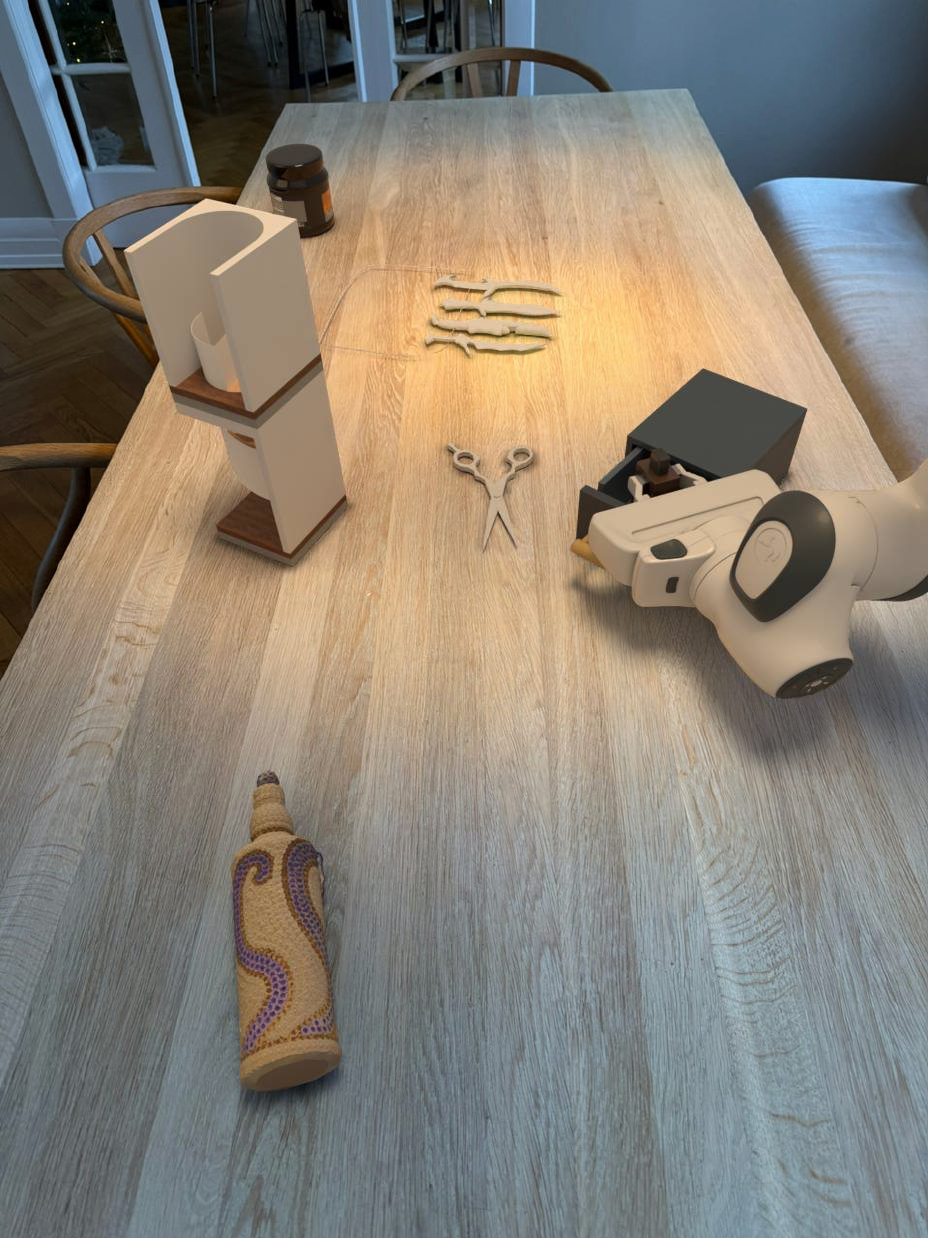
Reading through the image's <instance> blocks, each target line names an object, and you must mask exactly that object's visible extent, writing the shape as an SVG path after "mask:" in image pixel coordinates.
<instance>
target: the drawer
mask: <svg viewBox="0 0 928 1238" xmlns="http://www.w3.org/2000/svg"><path fill="white" fill-rule="evenodd" d="M650 457H651V451H649V450H646V449H644V448H642V447H640V446H637V447H636V448H635V449H634V450H633V451H632V452H631V453H630V454H629V455H627V456H626V457H625V456H624V458H623V459H622V460H621V461H619V463H617V464H616V465H615V466H614V467H613V468H612V469H611V470H609V472H607V473H606V474H605V475H604V476H603V477H602V478H601V479H600V480H599V481H598V482H597V488H594V487H592V486H590V485H588V484H585V485H583V486H582V487H581V488H580V489H579V497H578V509H577V520H576V534H575V540H574V542H573V543H572V545H571V548H570V551H571V553H572V554H575V555H577V556H579V557H581V558H583V559H584V560H586V561H588V562H590V563H592V564H594V565H596V566H597V567H600V568H601V569H603V570H605V571H607V570H606V569H605V567H604V566H603V565H602V564H601V562H600V561H599V560H598V558H597V557H596V556H595V554H594V553H593V551H592V550H591V548H590V546H589V542H588V531H589V525H590V522H591V519H592V517H593V515H594V514H596V513H599V512H603V511H606V510H610V509H614V508H617V507H621V506H624V505H628V504H631V498H632V494H631V492H630V491H629V489H628V480H629V477H632V476H635V472H636V466H637V462H638V461H641V460H645V459H649V458H650ZM676 464H678V463H675V462H673V461H671V460H670V465H671V466H672V465H676ZM681 466H682V465H681ZM682 467H683V469H684V470H685V471H686V472H689V473H692V474H695V475H697V476H700V477H703V478H704V479H705V480H706V481H707V482H710V481H714V480H713V479H711V478H709V477H707V476H704V475H702V474H700V473H698V472H695V471H693V470H691V469H689V468H686V467H684V466H682ZM678 490H682V488H680V487H679V486H678Z"/></svg>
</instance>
